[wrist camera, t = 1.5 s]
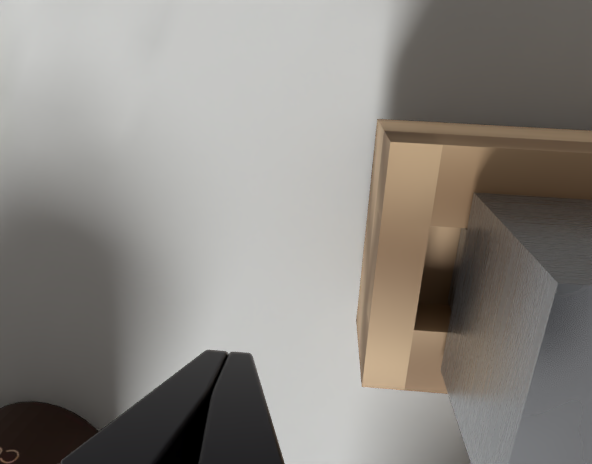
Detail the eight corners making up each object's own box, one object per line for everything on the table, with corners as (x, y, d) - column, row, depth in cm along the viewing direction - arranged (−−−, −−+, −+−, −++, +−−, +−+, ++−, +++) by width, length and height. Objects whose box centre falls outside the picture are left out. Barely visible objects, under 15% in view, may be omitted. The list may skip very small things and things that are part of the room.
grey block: (603, 352, 14) (776, 553, 9) (430, 339, 14) (491, 525, 9) (658, 188, 12) (924, 309, 7) (459, 175, 13) (558, 283, 7)
